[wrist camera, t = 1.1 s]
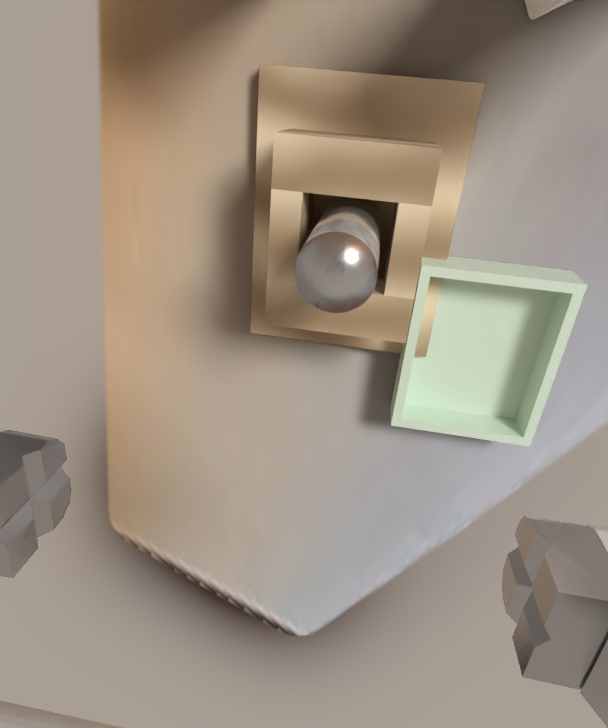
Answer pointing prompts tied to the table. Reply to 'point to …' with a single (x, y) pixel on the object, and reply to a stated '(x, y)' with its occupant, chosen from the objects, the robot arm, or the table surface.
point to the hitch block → (357, 192)
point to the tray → (485, 349)
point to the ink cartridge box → (542, 7)
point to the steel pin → (341, 256)
